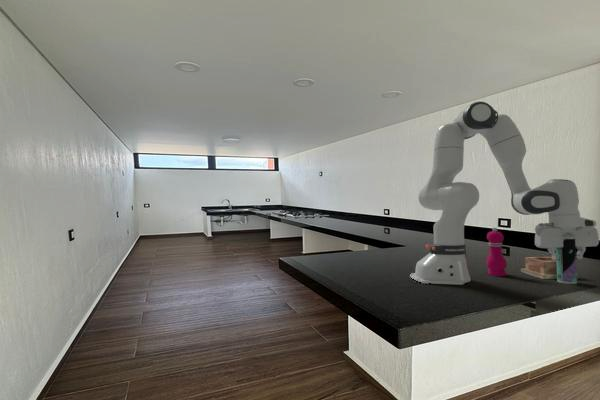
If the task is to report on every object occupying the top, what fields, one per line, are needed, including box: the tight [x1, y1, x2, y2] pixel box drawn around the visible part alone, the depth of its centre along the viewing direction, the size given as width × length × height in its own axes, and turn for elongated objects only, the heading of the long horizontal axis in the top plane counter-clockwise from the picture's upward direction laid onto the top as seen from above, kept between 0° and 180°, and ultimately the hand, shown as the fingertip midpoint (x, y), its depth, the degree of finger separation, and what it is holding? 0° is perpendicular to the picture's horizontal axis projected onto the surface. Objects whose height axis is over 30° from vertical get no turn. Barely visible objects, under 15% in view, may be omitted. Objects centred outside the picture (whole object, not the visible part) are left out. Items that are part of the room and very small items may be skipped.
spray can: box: [555, 233, 578, 285], centre depth 109 cm, size 6×6×20 cm
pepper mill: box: [486, 226, 508, 277], centre depth 125 cm, size 7×7×20 cm
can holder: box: [520, 256, 580, 280], centre depth 121 cm, size 13×13×6 cm
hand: (567, 259), depth 109 cm, fingers open, 7 cm apart
